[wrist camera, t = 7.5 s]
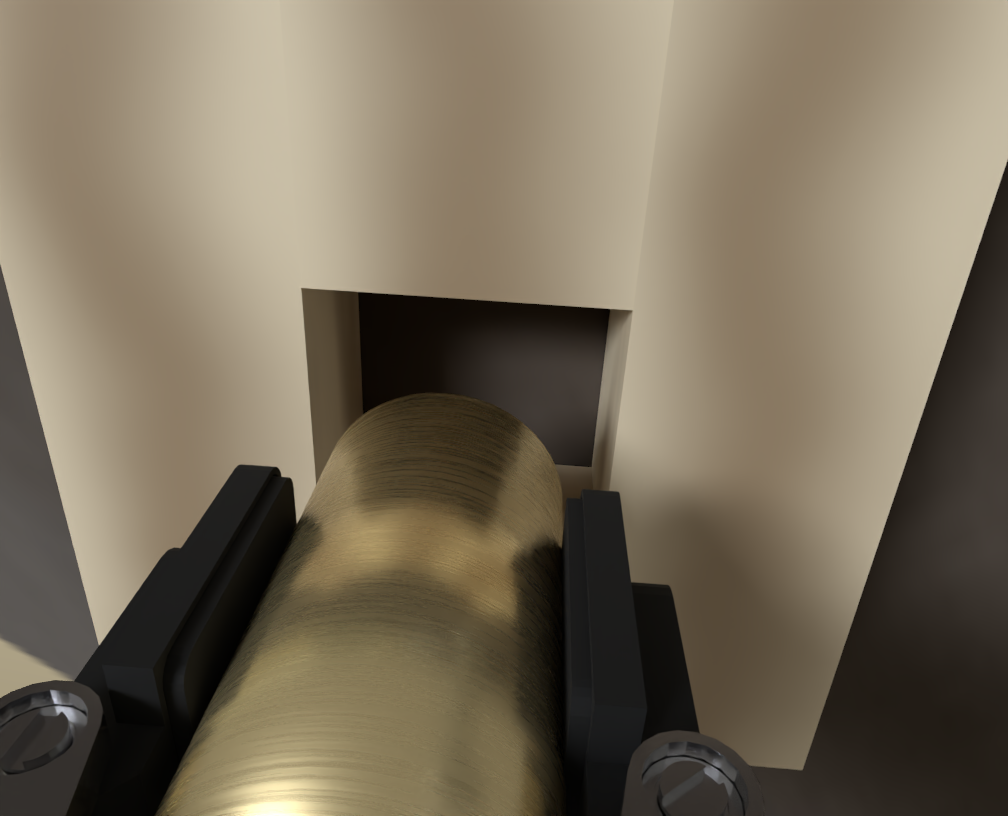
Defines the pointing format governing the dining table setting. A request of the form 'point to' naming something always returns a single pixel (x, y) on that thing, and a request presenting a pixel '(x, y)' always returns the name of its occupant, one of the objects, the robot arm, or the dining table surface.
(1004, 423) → the dining table surface
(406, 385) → the dining table surface
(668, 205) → the block
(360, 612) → the brass pin
